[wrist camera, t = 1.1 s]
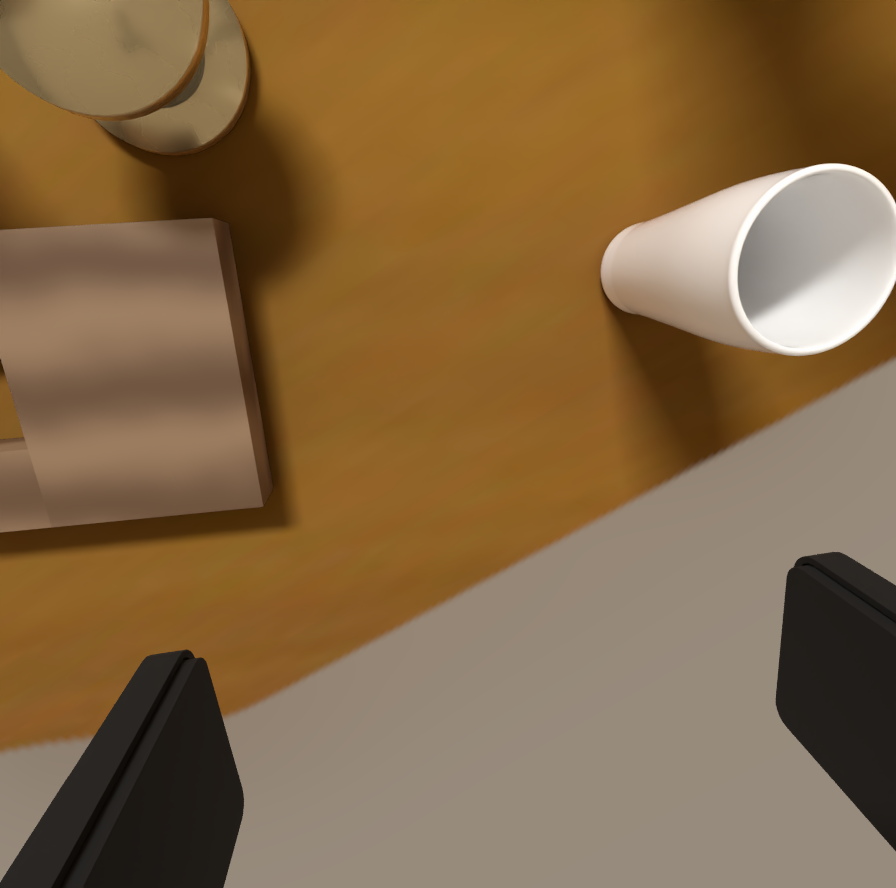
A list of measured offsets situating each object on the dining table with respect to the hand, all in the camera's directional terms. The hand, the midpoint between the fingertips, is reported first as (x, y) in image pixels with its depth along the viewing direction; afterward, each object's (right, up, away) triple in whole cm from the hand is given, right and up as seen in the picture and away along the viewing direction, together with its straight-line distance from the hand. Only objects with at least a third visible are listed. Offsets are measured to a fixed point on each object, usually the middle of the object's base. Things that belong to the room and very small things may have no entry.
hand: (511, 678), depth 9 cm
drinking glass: (+11, +15, +25) cm, 31 cm away
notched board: (-23, +8, +24) cm, 34 cm away
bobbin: (-16, +24, +20) cm, 34 cm away
